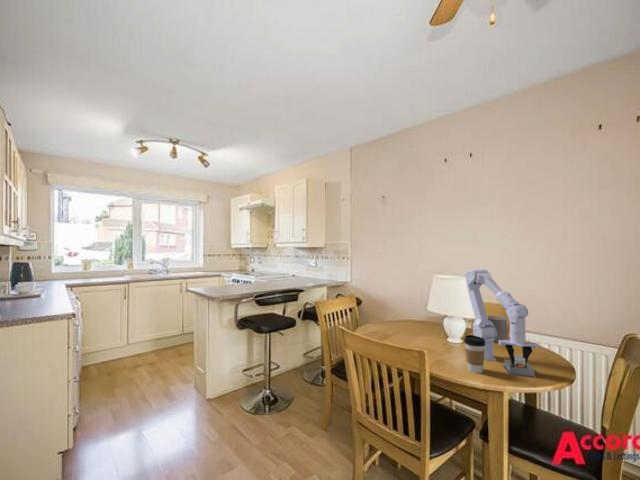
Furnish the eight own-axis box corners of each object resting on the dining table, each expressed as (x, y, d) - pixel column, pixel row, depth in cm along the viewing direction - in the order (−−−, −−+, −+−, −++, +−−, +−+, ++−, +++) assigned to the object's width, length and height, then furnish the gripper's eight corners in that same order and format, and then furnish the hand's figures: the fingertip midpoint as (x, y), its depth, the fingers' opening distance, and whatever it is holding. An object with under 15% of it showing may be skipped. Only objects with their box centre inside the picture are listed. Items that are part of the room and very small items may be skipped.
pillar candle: (484, 339, 170) (484, 314, 170) (495, 337, 174) (494, 312, 174) (500, 344, 161) (500, 318, 161) (511, 342, 166) (511, 316, 166)
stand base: (509, 375, 124) (509, 365, 124) (502, 366, 133) (502, 357, 133) (536, 378, 121) (536, 368, 121) (527, 368, 130) (527, 359, 130)
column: (514, 372, 125) (514, 357, 126) (511, 368, 129) (511, 353, 130) (526, 373, 124) (525, 358, 124) (522, 369, 128) (522, 354, 128)
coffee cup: (467, 365, 134) (466, 333, 135) (487, 370, 129) (486, 336, 129) (462, 371, 128) (461, 337, 128) (484, 376, 123) (483, 341, 123)
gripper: (501, 333, 126) (502, 364, 125) (540, 336, 121) (541, 368, 121) (497, 328, 132) (497, 358, 132) (534, 331, 128) (534, 362, 128)
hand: (518, 362), depth 127 cm, fingers closed on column, 4 cm apart
